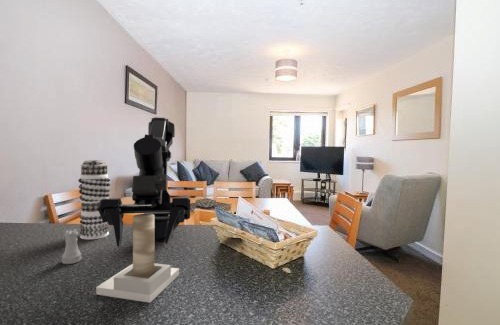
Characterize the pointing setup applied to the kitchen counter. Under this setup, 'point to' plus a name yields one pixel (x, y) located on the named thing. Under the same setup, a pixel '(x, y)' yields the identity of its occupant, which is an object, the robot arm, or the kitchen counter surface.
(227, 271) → the kitchen counter surface
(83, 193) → the decorative candle
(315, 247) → the kitchen counter surface
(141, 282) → the socket base
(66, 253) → the rook chess piece
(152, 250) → the birch post
